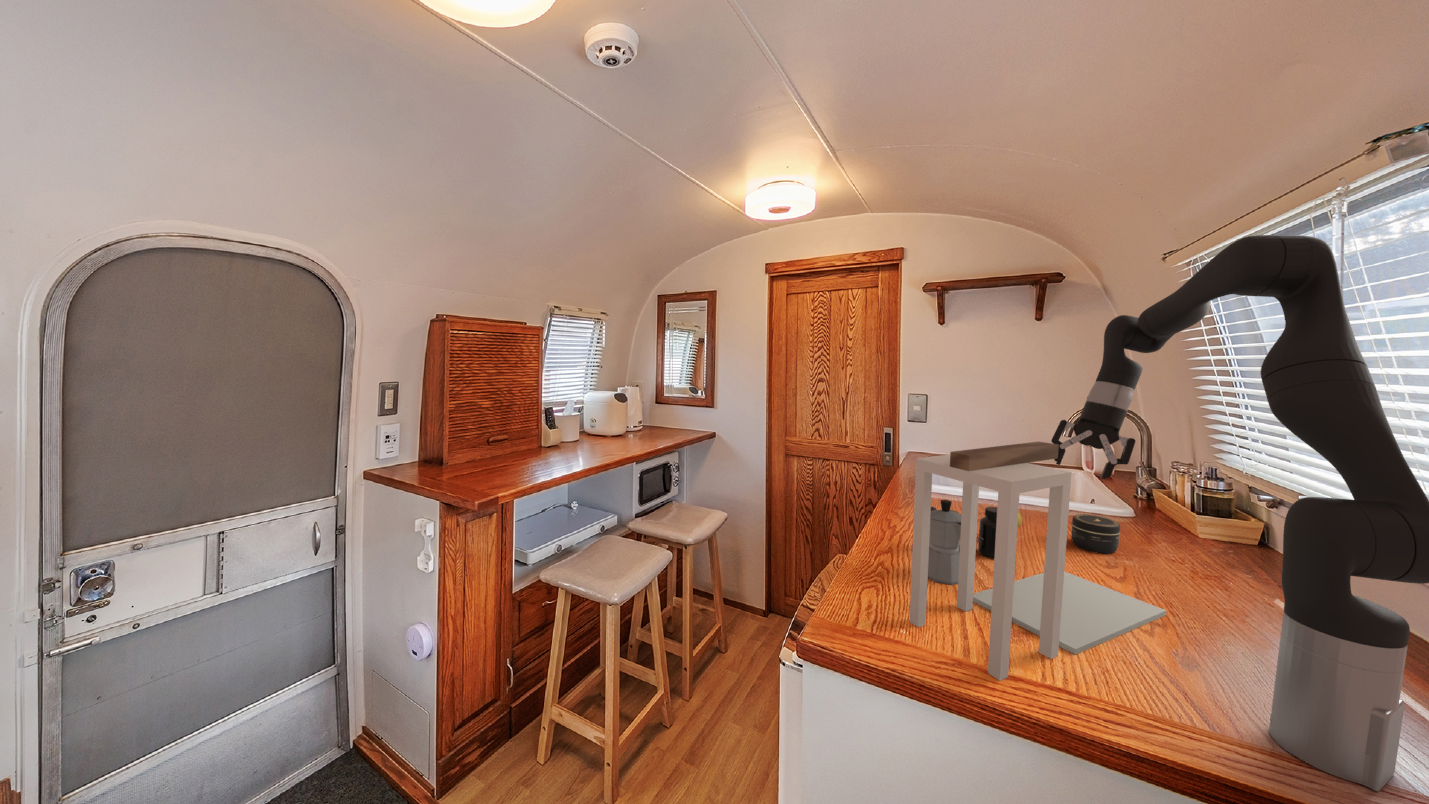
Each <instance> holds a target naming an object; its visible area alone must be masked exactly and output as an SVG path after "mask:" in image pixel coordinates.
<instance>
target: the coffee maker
mask: <svg viewBox="0 0 1429 804" xmlns="http://www.w3.org/2000/svg"><path fill="white" fill-rule="evenodd" d="M952 503H953V502H952V501H951V500H949V499H941V500H940V507H941V509H937V507H935V506H931V514H930V537H929V559H928V580H931V581H932V582H934V583H936V584H937V583H938V584H944V585H948V586H953V585H954V586H955V585H958V574H959V546H960V535H961V515H962V513H960V512H958V513H956V512H952V511H950V510H951V507H952V506H951V505H952ZM959 513H960V514H959Z"/></svg>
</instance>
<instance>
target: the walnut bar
mask: <svg viewBox="0 0 1429 804" xmlns="http://www.w3.org/2000/svg"><path fill="white" fill-rule="evenodd" d="M1058 449H1059V445H1058V444H1053V443H1052V442H1043V441H1032V442H1031V441H1030V442H1022V443H1014V444H1007V445H1006V444H1005V445H996V446H989V447H982V448H981V447H980V448H973V449H972V448H971V449H963V450H953V451H950V467H953V468H957V469H961V470H965V471H974V470H981V469H988V468H995V467H1002V466H1009V465H1016V464H1023V463H1030V464H1031V463H1036V462H1041V461H1049V460H1054V459H1057V458H1058Z"/></svg>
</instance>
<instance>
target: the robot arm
mask: <svg viewBox="0 0 1429 804" xmlns="http://www.w3.org/2000/svg"><path fill="white" fill-rule="evenodd" d="M1228 295H1235V296H1242V297H1243V296H1246V297H1264V298H1265V297H1267V298H1275V299H1276V300H1277V301H1278V302H1279V304H1280V306H1281V309H1282V312H1283V316H1284V321H1285V323H1284V324H1285V326H1284V329H1283V331H1282V333H1281V334H1280V336H1278V338H1277V340H1276V341H1275V343H1274V344H1273V345H1272V347H1271V348H1270V349H1269V351H1268V353H1267V354H1266V355H1265V357H1264V359H1263V361H1262V364H1261V367H1260V377H1261V382H1262V385H1263V390H1264V392H1265V396H1266V399H1267V403H1268V406H1269V409H1270V411H1271V413H1272V415H1273V416H1274V417H1275V418H1276V419H1277V420H1278V421H1279V422H1280V424H1281V425H1283V426H1284V427H1285V428H1286V429H1287V430H1288V431H1289V432H1290V433H1292V434H1293V435H1295V436H1296V437H1297V438H1298V439H1300V441H1302V442H1303V443H1304V444H1305V445H1307V446H1308V447H1310V448H1311V449H1313V450H1314V451H1316V452H1317V454H1318V455H1321V457H1322V458H1324V459H1325V460H1326V461H1327V462H1329V464H1331V466H1332V467H1334V469H1335V470H1336V471H1337V472H1338V474H1339V475H1340V476H1341V477H1342V479H1343V481H1344V482H1345V484H1346V486H1347V487H1348V489H1349V492H1350V493H1351V495H1352V499H1348V498H1338V497H1337V498H1336V497H1323V496H1322V497H1321V496H1320V497H1319V496H1307V497H1303V498H1299V499H1298V500H1296V501H1295V502H1294V503H1292V505H1290V507H1289V509H1288V511H1287V513H1286V515H1285V518H1284V523H1283V539H1282V567H1281V586H1282V592H1283V598H1284V605H1283V614H1282V623H1281V628H1280V629H1281V630H1280V637H1279V638H1280V640H1279V645H1278V646H1279V647H1278V648H1279V649H1278V655H1277V663H1276V664H1277V665H1276V671H1275V677H1274V679H1275V680H1274V686H1273V687H1274V688H1273V694H1272V703H1271V713H1270V716H1269V717H1270V718H1269V720H1270V721H1269V729H1268V730H1269V734H1270V736H1271V738H1272V739H1273V740H1274V741H1275V742H1276V744H1278V745H1279V746H1280V747H1281V748H1283V750H1284V751H1287V752H1289V753H1290V754H1291V755H1292V754H1293V756H1294V757H1295V756H1296V758H1297V757H1298V758H1297V759H1299V760H1300V761H1302V760H1304V761H1305V762H1304V761H1303V762H1304V763H1306V764H1308V763H1309V764H1308V765H1311V766H1312V767H1314V768H1316V769H1317V770H1320V771H1322V772H1324V773H1327V774H1330V775H1333V776H1335V777H1338V778H1341V779H1343V780H1346V781H1349V782H1353V783H1357V784H1360V785H1363V786H1365V787H1368V788H1369V789H1371V790H1373V791H1375V792H1380V791H1381V790H1382V789H1383V787H1384V786H1385V785H1386V784H1387V783H1388V782H1389V780H1390V779H1391V778H1392V777H1393V776H1394V775H1395V772H1396V771H1395V770H1396V767H1397V759H1398V752H1399V747H1400V746H1399V745H1400V740H1401V739H1400V737H1401V732H1402V725H1403V718H1404V713H1405V705H1406V704H1405V703H1406V702H1405V701H1404V700H1402V699H1401V693H1402V686H1403V679H1404V671H1405V665H1406V660H1407V659H1406V658H1407V653H1408V647H1409V646H1408V645H1409V641H1410V634H1411V632H1410V631H1411V629H1410V625H1409V622H1408V621H1407V620H1406V618H1404V617H1403V616H1402V615H1400V614H1399V613H1397V612H1396V611H1393V610H1391V609H1389V608H1388V607H1385V606H1383V605H1381V604H1379V603H1376V602H1374V601H1371V600H1368V599H1366V598H1363V597H1360V596H1357V595H1355V594H1353V593H1352V587H1351V577H1358V578H1365V579H1367V578H1368V579H1373V580H1383V581H1390V582H1397V583H1406V584H1407V583H1408V584H1419V585H1421V584H1424V585H1425V584H1426V585H1427V584H1429V499H1428V497H1427V495H1426V493H1425V492H1424V490H1423V488H1422V486H1421V485H1420V483H1419V481H1418V480H1417V478H1416V476H1415V475H1414V473H1413V471H1412V469H1411V468H1410V466H1409V464H1408V462H1407V461H1406V459H1405V457H1404V455H1403V452H1402V451H1401V448H1400V447H1399V444H1398V442H1397V440H1396V438H1395V435H1394V433H1393V431H1392V428H1391V426H1390V423H1389V421H1388V419H1387V416H1386V414H1385V412H1384V409H1383V406H1382V403H1381V399H1380V397H1379V394H1378V391H1377V387H1376V384H1375V382H1374V380H1373V377H1372V375H1371V374H1372V373H1371V372H1370V370H1369V369H1370V368H1369V367H1368V365H1367V362H1366V360H1365V358H1364V356H1363V354H1362V352H1361V350H1360V347H1359V345H1358V343H1357V340H1356V337H1355V334H1354V331H1353V328H1352V324H1351V322H1350V320H1349V316H1348V313H1347V310H1346V306H1345V302H1344V298H1343V293H1342V287H1341V283H1340V277H1339V270H1338V266H1337V262H1336V259H1335V255H1334V252H1333V250H1332V248H1331V246H1330V245H1329V244H1328V243H1327V242H1326V241H1325V240H1323V239H1321V238H1319V237H1314V236H1309V235H1289V234H1288V235H1287V234H1283V235H1282V234H1281V235H1280V234H1279V235H1278V234H1277V235H1276V234H1275V235H1274V234H1260V235H1259V234H1258V235H1249V236H1245V237H1241V238H1240V239H1237V240H1236V241H1234V242H1232V243H1230V244H1229V245H1227V246H1226V247H1225V248H1223V249H1222V250H1221V251H1220V252H1218V253H1217V254H1216V255H1215V256H1214V257H1213V258H1212V259H1210V260H1209V261H1207V263H1206V264H1205V265H1203V267H1201V268H1200V269H1199V270H1198V271H1196V273H1195V274H1193V275H1192V276H1191V277H1190V278H1189V279H1188V280H1187V281H1186V282H1184V283H1183V285H1181V286H1180V287H1179V288H1178V289H1177V290H1176V291H1174V292H1172V293H1171V294H1169V295H1168V296H1166V297H1164V298H1162V299H1161V300H1159V301H1158V302H1155V303H1154V304H1152V305H1151V306H1149V307H1147V308H1146V309H1145V310H1143V311H1142V313H1140V314H1139V317H1136V316H1132V315H1127V314H1126V315H1125V314H1122V315H1118V316H1116V317H1114V318H1112V320H1110V322H1109V323H1108V324H1107V326H1106V327H1105V329H1104V335H1103V353H1102V355H1103V356H1102V361H1101V366H1100V369H1099V371H1098V375H1097V376H1096V379H1095V382H1094V384H1093V385H1092V387H1091V388H1090V391H1089V393H1088V395H1087V396H1086V401H1085V402H1084V406H1083V408H1082V411H1081V413H1080V416H1079V418H1078V419H1077V422H1076V423H1073V422H1070V421H1067V420H1065V419H1061V420H1060V421H1059V423H1058V425H1057V428H1056V430H1055V432H1054V434H1053V436H1052V438H1051V440H1050V441H1051V442H1050V443H1051V444H1058V445H1059V449H1058V458H1057V459H1053V461H1055V463H1056V465H1059V466H1060V465H1061V463H1062V461H1063V458H1064V456H1065V453H1066V450H1067V449H1066V448H1068V447H1071V446H1073V445H1075V444H1077V443H1079V444H1080V445H1083V446H1090V447H1091V448H1093V449H1097V450H1102V451H1103V453H1104V454H1105V457H1106V458H1107V462H1106V463H1105V465H1104V467H1103V470H1102V472H1101V475H1100V477H1099V478H1100V479H1102V480H1106V479H1109V478H1111V476H1112V475H1113V472H1114V470H1115V467H1116V466H1117V465H1125V466H1126V465H1128V464H1129V462H1130V459H1131V456H1132V453H1133V450H1134V448H1135V444H1136V439H1135V438H1133V437H1127V436H1126V437H1125V436H1121V435H1120V431H1121V428H1122V426H1123V423H1124V421H1125V418H1126V416H1127V413H1128V411H1129V408H1130V406H1131V404H1132V401H1133V398H1134V393H1135V390H1136V388H1137V385H1138V383H1139V380H1140V378H1141V375H1142V374H1143V369H1144V368H1143V366H1142V365H1141V364H1140V363H1139V362H1137V361H1134V360H1133V359H1131V358H1129V357H1128V356H1127V355H1126V353H1125V350H1128V351H1129V350H1130V351H1132V352H1137V353H1141V354H1150V353H1152V354H1153V353H1156V352H1158V351H1160V350H1161V349H1162V348H1163V347H1164V346H1165V345H1166V343H1167V342H1168V341H1169V340H1170V339H1171V338H1172V337H1173V336H1175V335H1176V334H1178V333H1181V332H1182V331H1184V330H1186V329H1188V328H1191V327H1193V326H1195V325H1196V324H1198V323H1200V322H1201V321H1202V320H1203V319H1204V318H1205V317H1206V315H1207V314H1208V312H1209V310H1210V307H1211V303H1212V302H1211V301H1213V300H1215V299H1218V298H1221V297H1224V296H1225V297H1226V296H1228ZM1070 428H1072V430H1073V432H1074V434H1075V436H1072V437H1071V438H1069V439H1067V440H1065V441H1063V442H1062V441H1060V439H1061V437H1062V434H1063V432H1064V431H1068V430H1069V429H1070ZM1118 441H1119V442H1120V446H1121V447H1123V449H1122V452H1121V455H1120V458H1117V457H1116V456H1115V453H1114V452H1115V451H1113V448H1112V446H1111V445H1112V444H1114V443H1116V442H1118Z"/></svg>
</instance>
